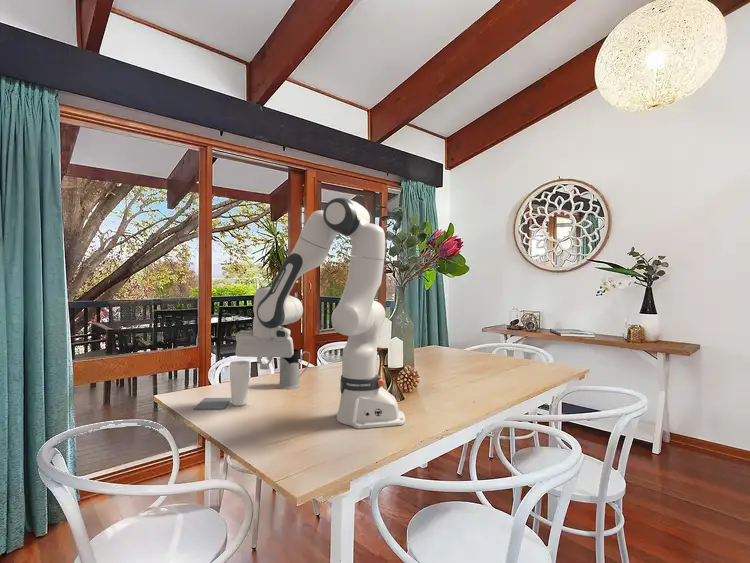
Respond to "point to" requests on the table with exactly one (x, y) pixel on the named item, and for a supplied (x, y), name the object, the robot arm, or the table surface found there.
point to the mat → (212, 404)
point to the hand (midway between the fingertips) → (264, 369)
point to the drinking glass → (239, 382)
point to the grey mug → (291, 371)
